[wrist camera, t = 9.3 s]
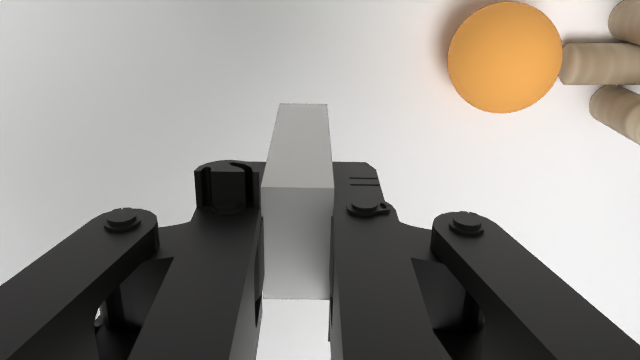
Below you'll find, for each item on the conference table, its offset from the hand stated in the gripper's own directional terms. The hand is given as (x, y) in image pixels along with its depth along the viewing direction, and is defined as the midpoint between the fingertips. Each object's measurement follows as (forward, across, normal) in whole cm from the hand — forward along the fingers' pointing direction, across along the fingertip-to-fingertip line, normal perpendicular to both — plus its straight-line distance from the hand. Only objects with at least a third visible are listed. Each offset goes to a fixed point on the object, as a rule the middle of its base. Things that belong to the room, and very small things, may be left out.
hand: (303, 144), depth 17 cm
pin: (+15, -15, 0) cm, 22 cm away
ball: (+13, -11, -1) cm, 17 cm away
